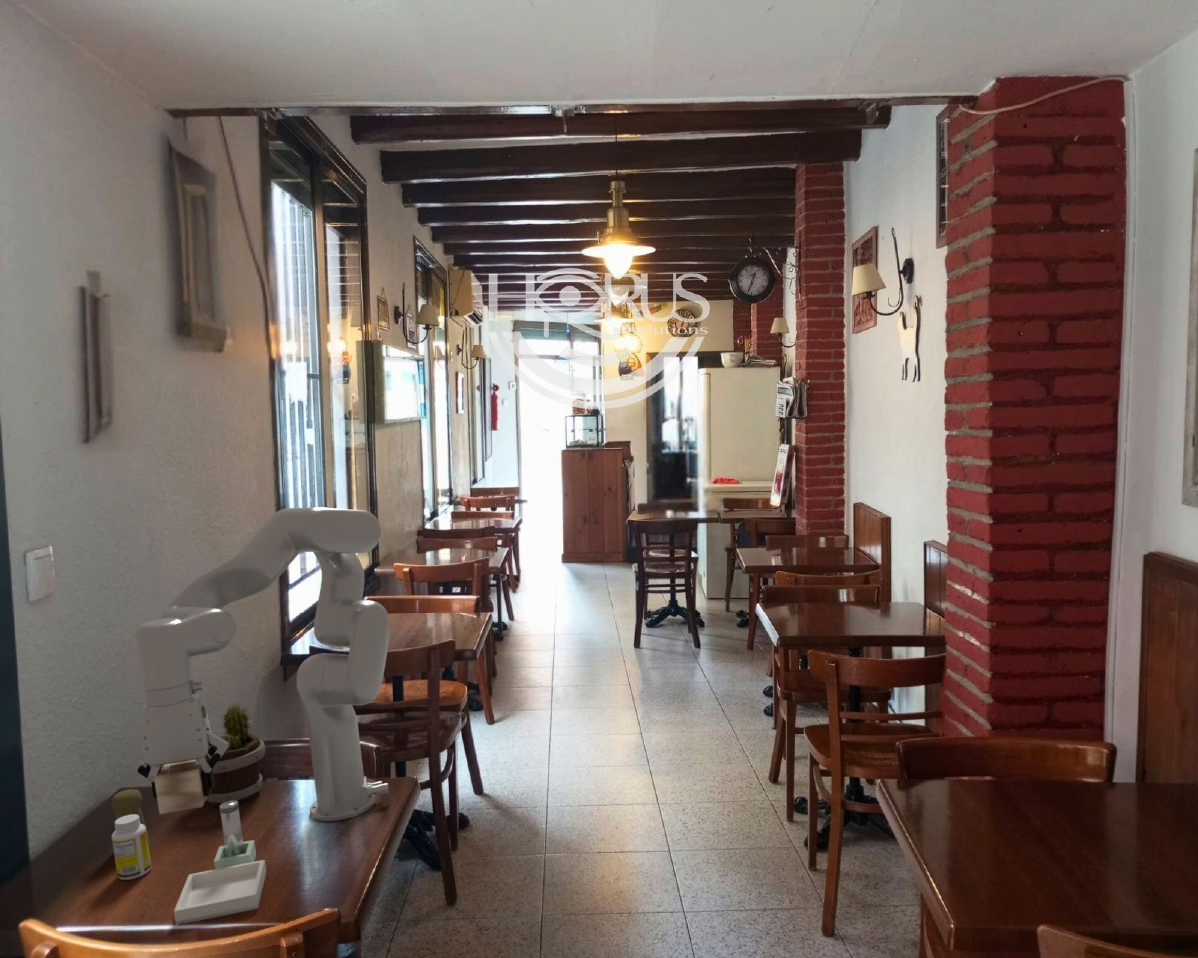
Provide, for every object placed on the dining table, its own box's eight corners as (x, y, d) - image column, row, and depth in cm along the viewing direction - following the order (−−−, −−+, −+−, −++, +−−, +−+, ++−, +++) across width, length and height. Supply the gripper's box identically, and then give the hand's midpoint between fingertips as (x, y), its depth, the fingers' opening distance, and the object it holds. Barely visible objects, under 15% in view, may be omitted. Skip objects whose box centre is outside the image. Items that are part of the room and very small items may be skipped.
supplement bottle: (143, 862, 171) (136, 809, 170) (157, 870, 167) (149, 815, 166) (112, 876, 167) (104, 821, 166) (125, 884, 163) (117, 828, 162)
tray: (266, 872, 162) (264, 859, 162) (257, 908, 150) (256, 894, 150) (190, 887, 160) (189, 874, 159) (175, 925, 148) (173, 911, 147)
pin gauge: (246, 857, 168) (239, 798, 167) (244, 865, 165) (236, 805, 164) (228, 861, 167) (220, 802, 167) (226, 868, 164) (218, 808, 164)
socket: (256, 854, 170) (254, 839, 170) (251, 869, 164) (249, 854, 164) (221, 861, 168) (219, 846, 168) (215, 876, 163) (213, 861, 162)
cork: (136, 855, 174) (128, 798, 174) (108, 854, 176) (100, 798, 175) (157, 839, 180) (150, 785, 179) (130, 839, 182) (122, 785, 181)
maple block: (210, 790, 159) (206, 757, 159) (202, 806, 153) (197, 771, 152) (170, 797, 158) (165, 763, 158) (159, 814, 152) (154, 778, 151)
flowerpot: (234, 815, 188) (221, 720, 187) (181, 807, 195) (168, 715, 193) (286, 786, 201) (275, 696, 200) (234, 779, 208) (223, 693, 206)
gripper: (229, 679, 159) (243, 779, 161) (120, 695, 156) (136, 797, 157) (220, 692, 152) (235, 796, 153) (106, 709, 148) (123, 816, 150)
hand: (185, 796), depth 155 cm, fingers closed on maple block, 6 cm apart
